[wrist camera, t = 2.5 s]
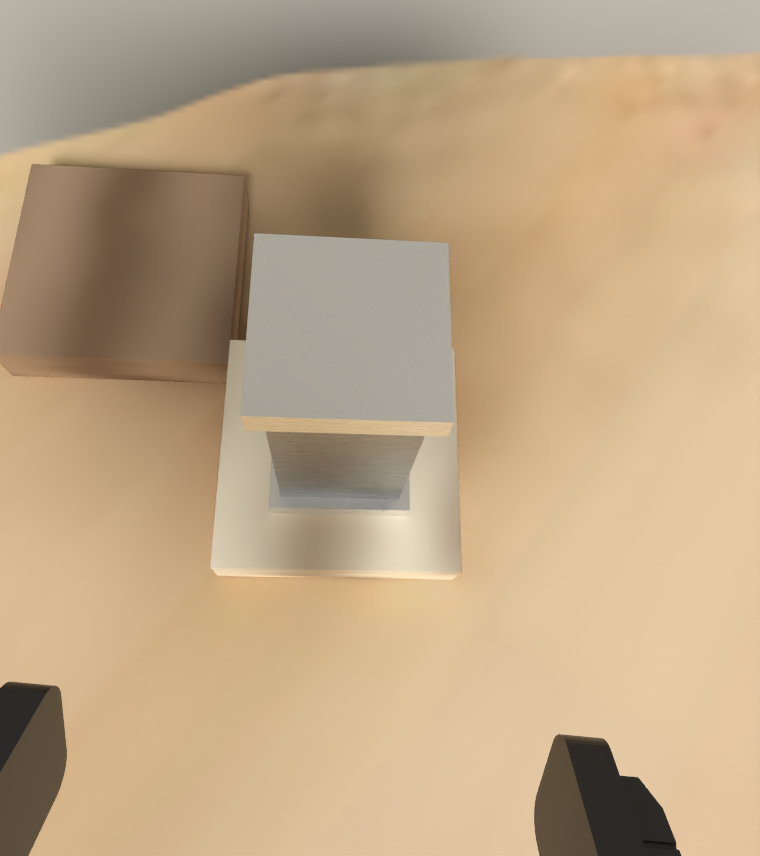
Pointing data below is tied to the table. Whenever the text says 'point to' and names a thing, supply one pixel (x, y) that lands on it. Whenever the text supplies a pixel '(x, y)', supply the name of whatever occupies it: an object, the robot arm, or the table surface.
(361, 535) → the stand
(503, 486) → the table surface
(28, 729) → the robot arm
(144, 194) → the stand
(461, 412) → the table surface
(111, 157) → the table surface
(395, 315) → the block
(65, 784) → the table surface
